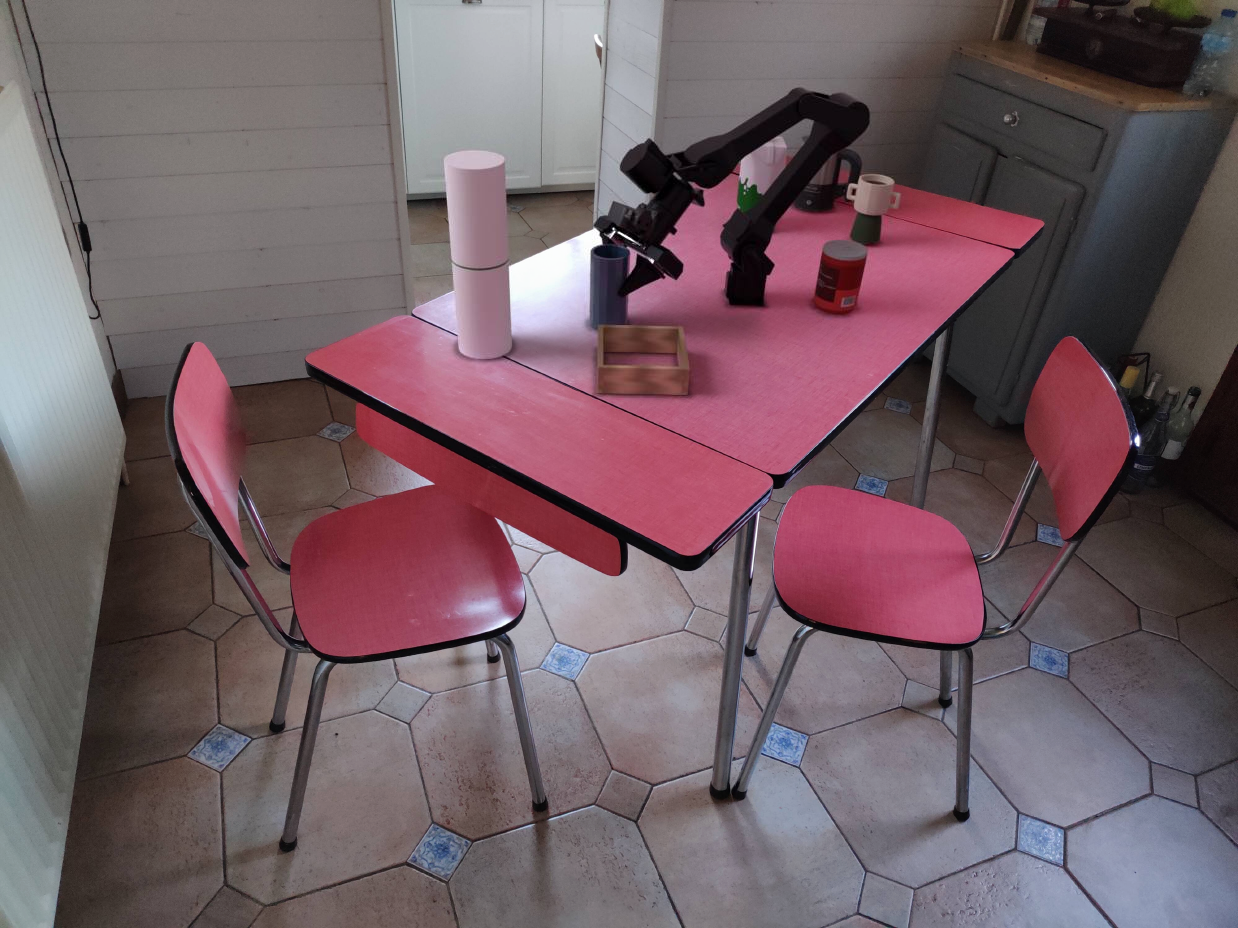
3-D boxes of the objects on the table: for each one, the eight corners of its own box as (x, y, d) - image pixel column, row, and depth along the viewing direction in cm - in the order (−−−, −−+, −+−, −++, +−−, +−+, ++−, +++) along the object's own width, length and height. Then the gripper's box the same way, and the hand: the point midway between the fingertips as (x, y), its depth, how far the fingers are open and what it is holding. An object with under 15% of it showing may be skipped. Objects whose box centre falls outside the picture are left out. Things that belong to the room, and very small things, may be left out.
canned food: (860, 301, 162) (872, 244, 156) (850, 319, 156) (862, 260, 150) (819, 292, 165) (829, 236, 158) (807, 309, 159) (818, 251, 152)
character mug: (894, 241, 187) (908, 180, 179) (884, 252, 182) (899, 189, 174) (844, 230, 191) (855, 169, 183) (833, 241, 186) (845, 179, 178)
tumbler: (631, 318, 154) (634, 247, 146) (620, 335, 149) (623, 262, 141) (596, 312, 155) (598, 241, 148) (584, 328, 150) (585, 256, 143)
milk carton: (732, 217, 195) (743, 123, 183) (773, 219, 195) (786, 125, 183) (735, 232, 187) (747, 135, 176) (778, 234, 188) (792, 137, 176)
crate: (680, 351, 145) (682, 326, 142) (687, 395, 134) (689, 369, 131) (597, 349, 145) (598, 324, 142) (597, 393, 134) (598, 367, 131)
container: (460, 333, 147) (446, 150, 129) (512, 333, 148) (505, 150, 130) (456, 359, 140) (441, 169, 123) (511, 359, 141) (504, 169, 123)
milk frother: (791, 211, 199) (801, 143, 190) (792, 188, 212) (802, 123, 203) (855, 217, 197) (869, 149, 189) (852, 193, 210) (865, 129, 201)
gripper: (603, 167, 147) (547, 244, 148) (674, 201, 135) (613, 284, 136) (639, 205, 155) (586, 277, 156) (709, 240, 143) (651, 318, 144)
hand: (607, 288), depth 148 cm, fingers closed on tumbler, 6 cm apart
